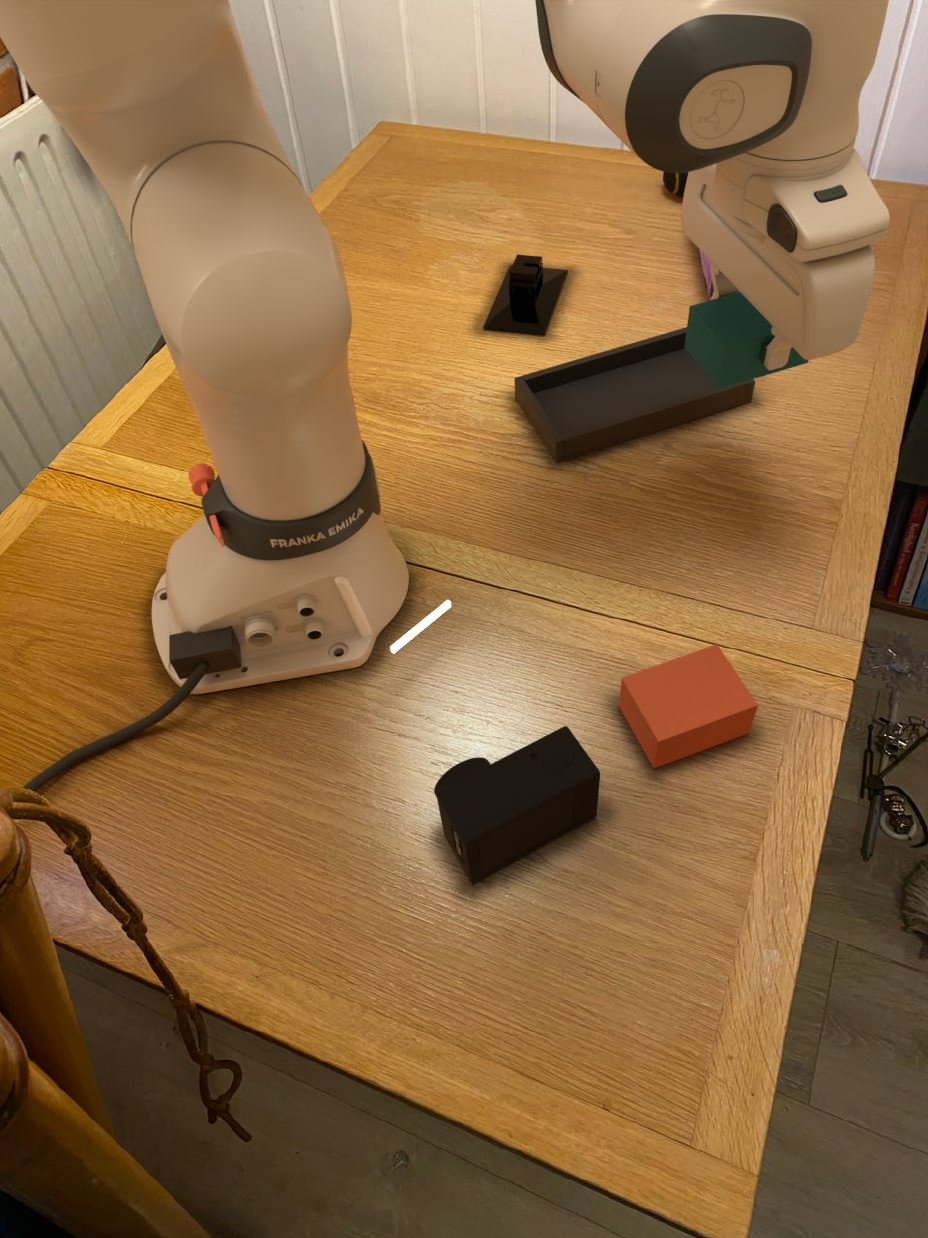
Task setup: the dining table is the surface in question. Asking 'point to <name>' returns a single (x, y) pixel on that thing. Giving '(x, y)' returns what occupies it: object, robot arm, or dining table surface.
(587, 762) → the digital camera
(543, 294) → the black flat based block
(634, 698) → the orange rectangular block
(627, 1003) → the dining table surface
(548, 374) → the dark brown tray
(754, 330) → the teal block
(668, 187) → the tape measure
